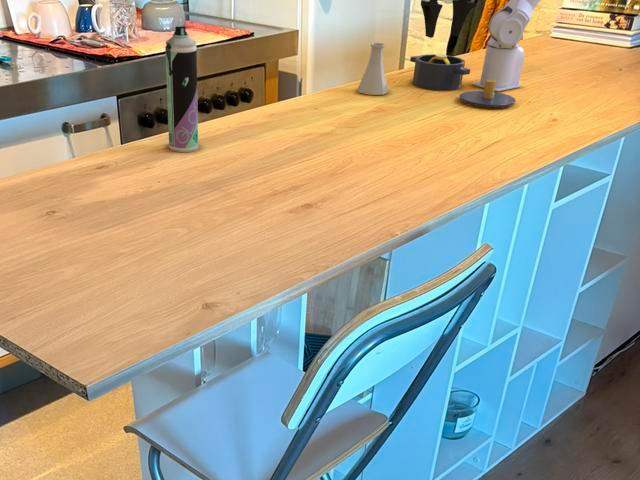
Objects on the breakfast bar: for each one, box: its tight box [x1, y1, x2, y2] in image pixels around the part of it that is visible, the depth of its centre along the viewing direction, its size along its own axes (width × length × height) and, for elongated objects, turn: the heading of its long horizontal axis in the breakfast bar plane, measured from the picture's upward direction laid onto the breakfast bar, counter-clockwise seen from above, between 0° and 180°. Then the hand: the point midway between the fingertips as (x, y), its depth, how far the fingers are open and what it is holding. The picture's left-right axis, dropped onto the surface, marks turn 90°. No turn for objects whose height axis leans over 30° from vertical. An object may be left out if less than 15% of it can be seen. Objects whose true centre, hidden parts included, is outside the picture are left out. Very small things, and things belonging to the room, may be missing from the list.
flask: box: [357, 42, 389, 96], centre depth 187 cm, size 7×7×10 cm
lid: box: [459, 79, 517, 109], centre depth 184 cm, size 13×13×5 cm
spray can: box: [164, 25, 199, 153], centre depth 146 cm, size 6×6×20 cm
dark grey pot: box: [409, 53, 471, 92], centre depth 196 cm, size 12×17×6 cm
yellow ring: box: [428, 53, 450, 64], centre depth 196 cm, size 6×3×6 cm, turn 48°
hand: (441, 36), depth 191 cm, fingers open, 7 cm apart
